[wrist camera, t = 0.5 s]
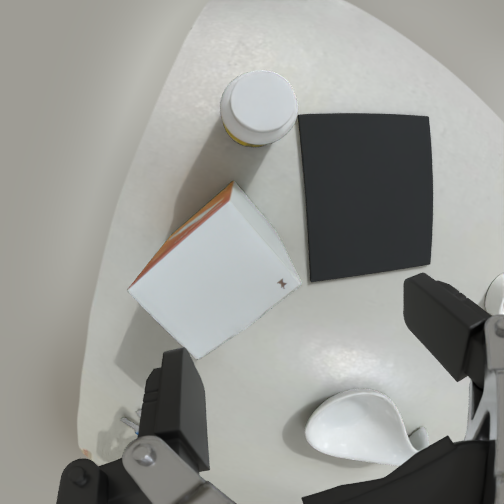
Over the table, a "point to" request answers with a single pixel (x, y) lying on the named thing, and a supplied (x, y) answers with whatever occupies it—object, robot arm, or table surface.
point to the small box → (216, 274)
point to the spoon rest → (363, 429)
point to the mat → (366, 192)
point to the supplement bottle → (258, 108)
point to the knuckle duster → (495, 296)
